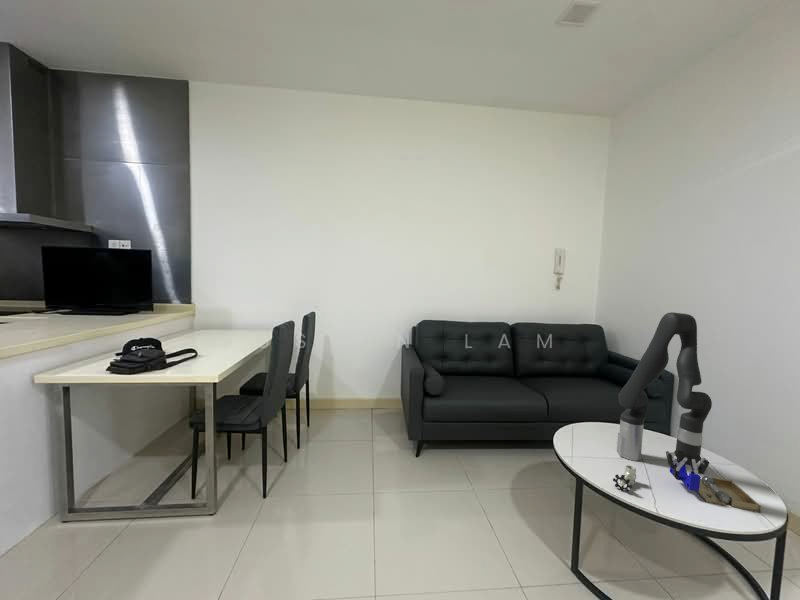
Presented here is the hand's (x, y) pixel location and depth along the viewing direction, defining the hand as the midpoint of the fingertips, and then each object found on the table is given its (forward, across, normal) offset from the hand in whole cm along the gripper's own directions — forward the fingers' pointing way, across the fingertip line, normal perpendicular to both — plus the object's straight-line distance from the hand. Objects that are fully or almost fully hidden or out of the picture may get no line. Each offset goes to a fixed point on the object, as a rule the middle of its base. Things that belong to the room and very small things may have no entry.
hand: (684, 479), depth 135 cm
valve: (+5, -21, -6) cm, 23 cm away
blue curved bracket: (+1, 0, 0) cm, 1 cm away
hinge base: (+4, +13, +3) cm, 14 cm away
